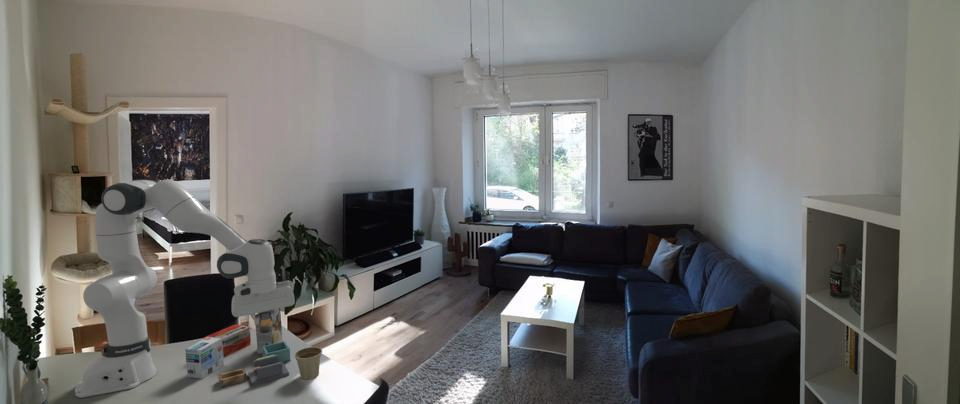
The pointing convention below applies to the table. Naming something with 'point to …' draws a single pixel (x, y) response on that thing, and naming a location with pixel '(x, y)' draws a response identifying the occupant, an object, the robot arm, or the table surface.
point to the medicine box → (233, 338)
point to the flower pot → (308, 361)
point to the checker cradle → (267, 370)
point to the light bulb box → (204, 357)
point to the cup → (278, 351)
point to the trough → (232, 377)
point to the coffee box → (270, 337)
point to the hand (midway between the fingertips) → (265, 322)
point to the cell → (265, 321)
